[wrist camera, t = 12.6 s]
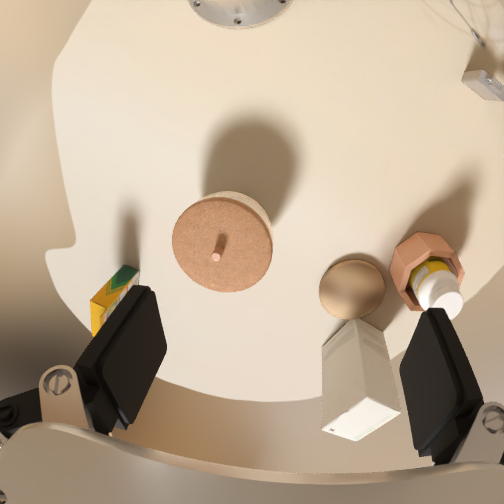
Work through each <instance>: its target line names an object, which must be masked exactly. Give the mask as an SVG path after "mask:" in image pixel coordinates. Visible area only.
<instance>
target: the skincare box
mask: <svg viewBox="0 0 504 504" xmlns="http://www.w3.org/2000/svg"><path fill="white" fill-rule="evenodd" d="M400 413H401V410H400V404H399V399H398V394H397V390H396V385H395V381H394V376H393V371H392V367H391V363H390V358H389V354H388V350H387V346H386V342H385V338H384V334H383V332H382V331H380V330H378V329H377V328H375V327H373V326H372V325H370V324H368V323H367V322H365V321H363V320H362V319H360V318H358V319H350V320H349V321H348V322H347V323H346V324H345V325H344V326H343V327H342V328H341V329H340V330H339V331H338V332H337V333H336V334H335V335H334V336H333V337H332V338H331V339H330V340H329V341H328V342H327V343H326V344H325V345H324V346H323V347H322V427H321V429H322V430H323V431H326V432H329V433H332V434H335V435H338V436H341V437H344V438H347V439H350V440H353V441H358V440H360V439H361V438H363V437H364V436H366V435H367V434H369V433H371V432H372V431H374V430H376V429H377V428H379V427H380V426H382V425H383V424H385V423H386V422H388V421H389V420H391V419H392V418H394V417H395V416H397V415H398V414H400Z"/></svg>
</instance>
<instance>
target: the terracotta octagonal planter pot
mask: <svg viewBox="0 0 504 504" xmlns="http://www.w3.org/2000/svg"><path fill="white" fill-rule="evenodd" d="M430 256H437V257H441V258H442V259H443V260H444V262H445V263H446V264H447V266H448V267H449V268H450V270H451V271H452V272H453V274H454V275H455V276H456V278H457V280H458V282H459V287H460V284H461V282H462V279H463V276H464V274H465V272H464V270H463V268H462V266H461V263H460V261H459V259H458V257H457V255H456V253H455V252H454V251H453V249H452V248H451V247H450V246H449V245H448V243H447V242H446V241H445V240H444V239H443V238H442V236H441V235H437V234H430V233H423V232H416V233H415V234H413V235H412V236H411V237H409V238H408V239H407V240H405V241H404V242H403V243H401V244H400V245H398V246H397V247H396V248H395V252H394V256H393V260H392V264H391V267H390V271H389V272H390V274H391V276H392V279H393V281H394V284H395V286H396V289H397V291H398V293H399V295H400V296H401V298H402V299H403V300H404V302H405V303H406V305H407V306H408V308H409V309H410V310H411V311H426V310H424V309H423V308H422V307H421V305H420V303H419V302H418V299H417V297H416V295H415V293H414V291H413V289H412V287H411V285H410V284H409V282H408V279H409V276H410V272H411V270H412V269H413V268H415V267H416V266H417V265H419V264H420V263H422V262H423V261H424V260H426V259H427V258H429V257H430Z"/></svg>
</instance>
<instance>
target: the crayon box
mask: <svg viewBox="0 0 504 504" xmlns="http://www.w3.org/2000/svg"><path fill="white" fill-rule="evenodd" d="M139 273H140V271H138V270H136V269H133V268H131V267H128V266H126V265H123V267H122V268H121V269H120V270H119V271H118V272H117V273H116V274H115V275H114V276H113V277H112V278H111V279H110V280H109V281H108V282H107V283H106V284H105V285H104V286H103V287H102V288H101V289H100V290H99V291H98V292H97V294H96V295H95V296H94V297H93V298H92V299H91V300H90V307H91V327H92V336H95V335H96V334H97V332H98V331H99V329H100V328H101V327H102V325H103V324H104V323H105V321H106V320H107V318H108V317H109V316H110V314H111V313H112V312H113V310H114V309H115V308H116V306H117V305H118V304H119V302H120V301H121V300H122V298H123V297H124V296H125V294H126V293H127V292H128V291H129V289H130V288H131V287H132V286H133V285H138V281H139Z"/></svg>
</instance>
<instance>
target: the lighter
mask: <svg viewBox="0 0 504 504" xmlns="http://www.w3.org/2000/svg"><path fill="white" fill-rule="evenodd" d="M461 81H462V83H463V84H465V85H466V86H467V87H469V88H470V89H471V90H473V91H474V92H475V93H477V94H478V95H479V96H480V97H482V98H483V99H484V100H496V101H504V86H503V85H502V84H501V83H500V82H499V81H498V80H496V79H495V78H493V77H492V76H491V75H489V74H488V73H487V72H486V71H484V70H475V71H466V72H464V75H463V78H462V80H461Z"/></svg>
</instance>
